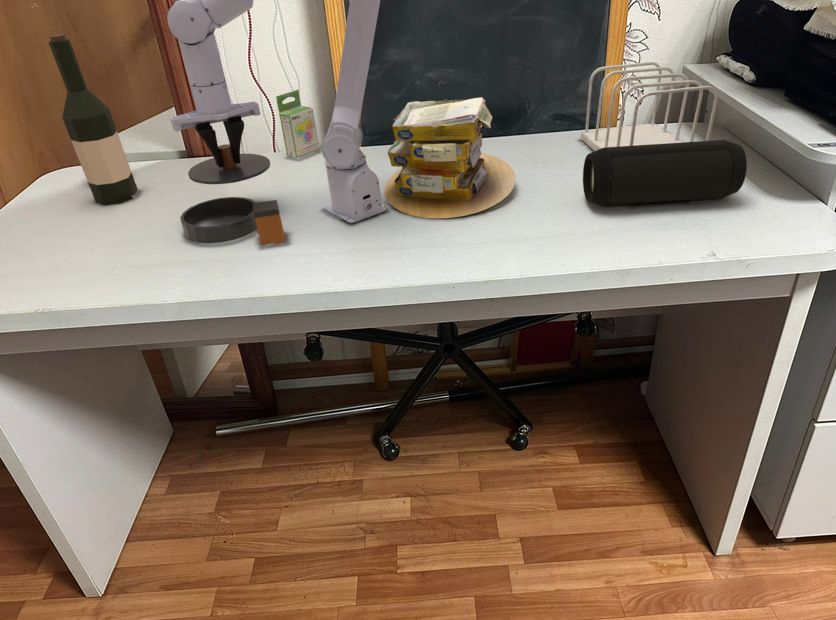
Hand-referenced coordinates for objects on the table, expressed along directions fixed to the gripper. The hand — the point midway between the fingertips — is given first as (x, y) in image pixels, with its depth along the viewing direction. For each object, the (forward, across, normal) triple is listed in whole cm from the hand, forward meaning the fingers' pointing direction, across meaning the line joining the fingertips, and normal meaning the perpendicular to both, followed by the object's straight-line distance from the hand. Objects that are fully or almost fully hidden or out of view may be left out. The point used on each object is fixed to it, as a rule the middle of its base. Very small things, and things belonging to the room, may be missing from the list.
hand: (228, 164), depth 110 cm
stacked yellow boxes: (+10, +37, -14) cm, 41 cm away
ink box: (+10, +22, +26) cm, 36 cm away
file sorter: (+10, +79, -22) cm, 83 cm away
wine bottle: (+10, -18, +27) cm, 34 cm away
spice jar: (+10, +1, -14) cm, 17 cm away
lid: (+1, 0, 0) cm, 1 cm away
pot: (+10, -4, -4) cm, 11 cm away
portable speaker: (+10, +63, -42) cm, 76 cm away
